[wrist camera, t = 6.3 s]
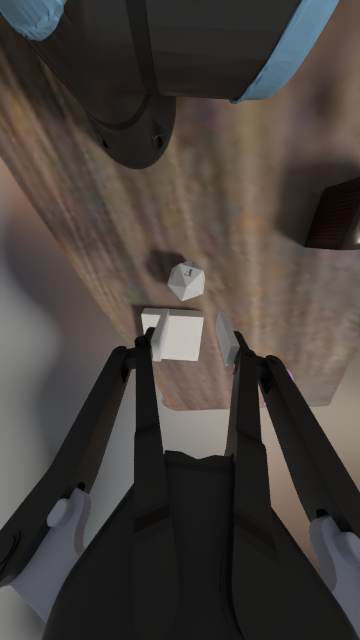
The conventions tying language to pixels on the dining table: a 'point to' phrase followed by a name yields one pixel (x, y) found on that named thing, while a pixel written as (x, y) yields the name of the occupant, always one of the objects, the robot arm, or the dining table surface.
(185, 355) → the plinth
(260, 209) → the dining table surface
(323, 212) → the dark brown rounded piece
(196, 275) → the die
